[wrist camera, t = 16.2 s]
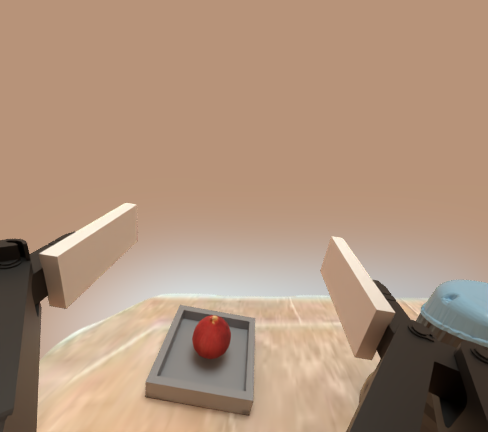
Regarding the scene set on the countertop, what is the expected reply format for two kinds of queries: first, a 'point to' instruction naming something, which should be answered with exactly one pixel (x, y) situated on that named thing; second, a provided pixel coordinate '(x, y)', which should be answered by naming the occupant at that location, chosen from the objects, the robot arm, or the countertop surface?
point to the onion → (211, 337)
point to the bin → (205, 365)
